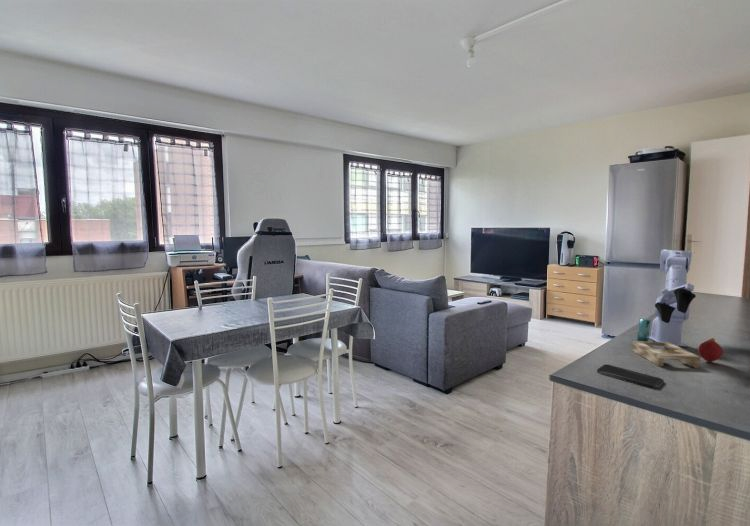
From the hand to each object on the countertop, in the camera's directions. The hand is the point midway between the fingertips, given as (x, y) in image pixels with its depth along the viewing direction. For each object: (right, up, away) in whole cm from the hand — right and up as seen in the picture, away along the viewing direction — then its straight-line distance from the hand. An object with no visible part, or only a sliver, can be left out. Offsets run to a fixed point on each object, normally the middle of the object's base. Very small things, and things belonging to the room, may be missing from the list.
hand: (673, 316), depth 126 cm
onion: (+10, -15, -2) cm, 18 cm away
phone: (-24, -16, -15) cm, 33 cm away
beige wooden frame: (-3, -14, 0) cm, 14 cm away
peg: (-2, -13, +12) cm, 17 cm away
